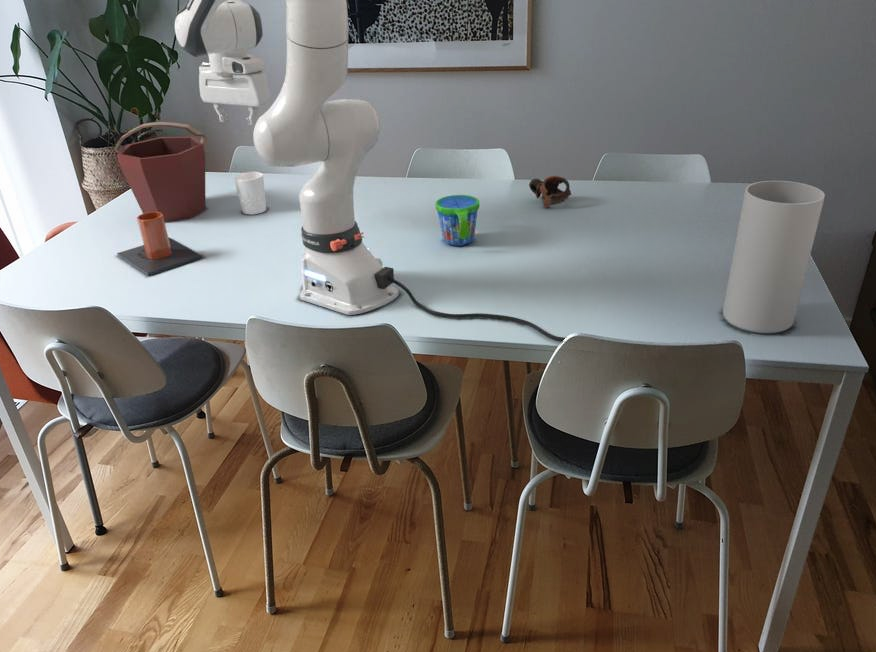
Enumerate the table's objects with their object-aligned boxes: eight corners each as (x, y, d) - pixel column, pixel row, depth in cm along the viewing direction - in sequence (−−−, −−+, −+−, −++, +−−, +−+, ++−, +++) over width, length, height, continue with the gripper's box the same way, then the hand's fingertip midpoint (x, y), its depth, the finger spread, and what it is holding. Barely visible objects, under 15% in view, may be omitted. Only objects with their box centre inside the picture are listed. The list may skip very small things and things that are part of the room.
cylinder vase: (714, 304, 146) (736, 181, 133) (780, 304, 145) (809, 180, 132) (732, 335, 136) (757, 204, 123) (803, 335, 134) (836, 203, 121)
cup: (176, 254, 181) (166, 215, 176) (153, 261, 178) (143, 222, 173) (165, 247, 185) (156, 209, 180) (142, 255, 182) (132, 216, 177)
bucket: (230, 199, 218) (213, 113, 205) (199, 227, 199) (178, 133, 186) (154, 199, 222) (133, 114, 209) (116, 225, 204) (91, 134, 191)
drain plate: (202, 258, 180) (201, 255, 180) (148, 276, 173) (147, 273, 172) (169, 239, 192) (168, 237, 192) (117, 256, 185) (116, 253, 184)
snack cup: (435, 230, 188) (433, 192, 183) (476, 228, 188) (475, 189, 183) (438, 255, 174) (437, 214, 169) (483, 252, 175) (482, 211, 169)
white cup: (262, 215, 204) (256, 180, 199) (236, 215, 206) (229, 180, 201) (272, 206, 211) (267, 171, 206) (247, 205, 212) (241, 171, 207)
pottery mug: (573, 198, 204) (577, 178, 197) (560, 223, 200) (564, 203, 193) (533, 184, 207) (536, 163, 200) (519, 208, 203) (522, 188, 196)
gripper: (188, 63, 175) (199, 122, 182) (250, 66, 165) (259, 129, 171) (208, 59, 179) (218, 118, 186) (270, 62, 169) (278, 124, 176)
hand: (238, 123), depth 179 cm, fingers open, 8 cm apart
